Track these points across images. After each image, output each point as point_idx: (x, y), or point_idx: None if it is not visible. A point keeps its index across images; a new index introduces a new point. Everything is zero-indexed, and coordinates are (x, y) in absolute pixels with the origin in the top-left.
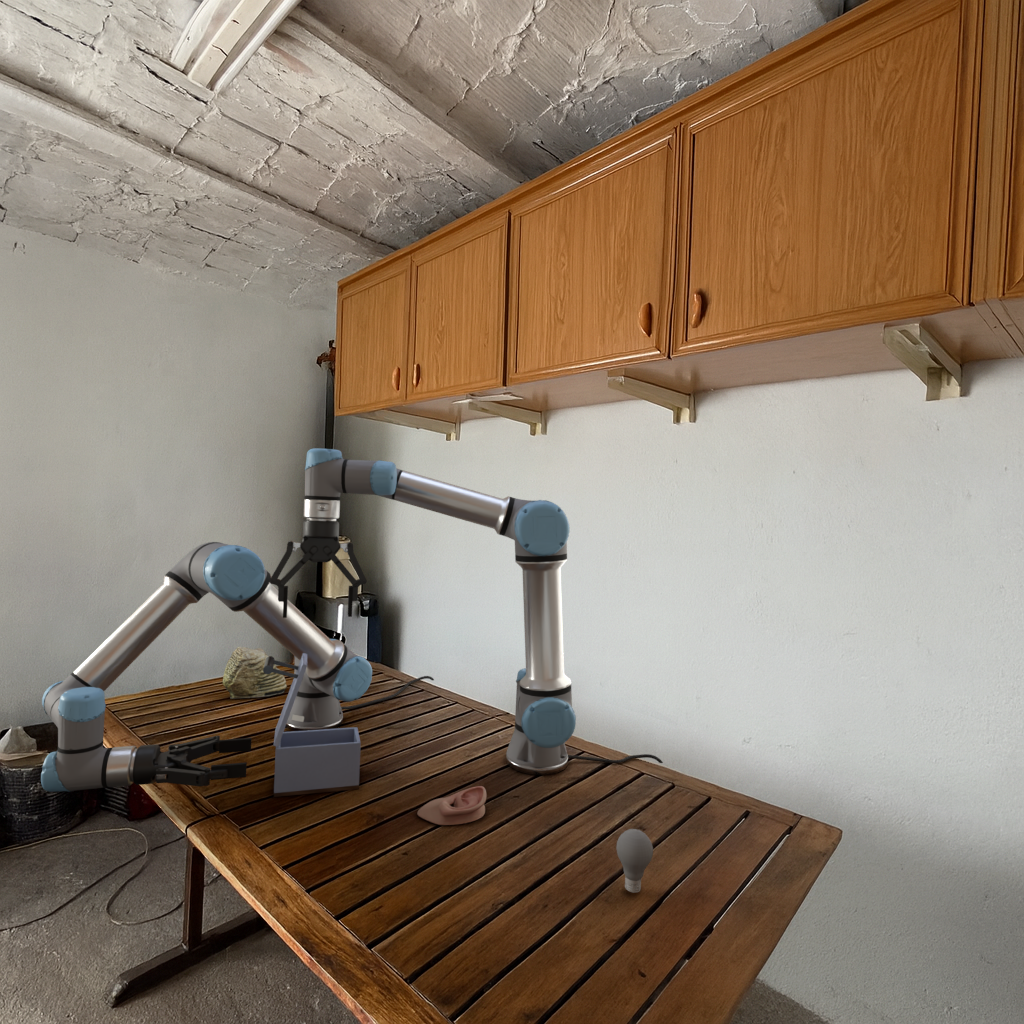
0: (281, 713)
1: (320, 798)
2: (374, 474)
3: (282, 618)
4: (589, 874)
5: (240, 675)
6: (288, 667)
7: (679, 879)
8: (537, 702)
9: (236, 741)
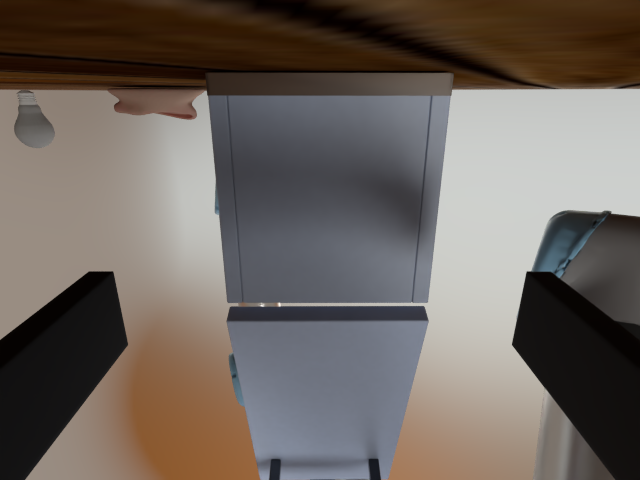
0: (396, 371)
1: (203, 79)
2: None
3: None
4: (41, 88)
5: None
6: None
7: (64, 89)
8: (218, 213)
9: (568, 403)
